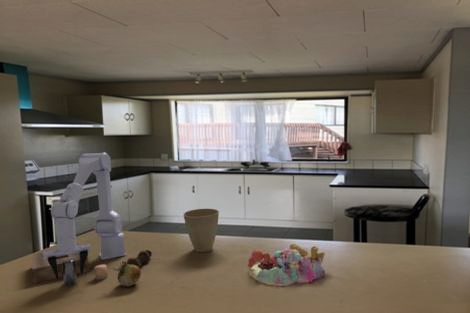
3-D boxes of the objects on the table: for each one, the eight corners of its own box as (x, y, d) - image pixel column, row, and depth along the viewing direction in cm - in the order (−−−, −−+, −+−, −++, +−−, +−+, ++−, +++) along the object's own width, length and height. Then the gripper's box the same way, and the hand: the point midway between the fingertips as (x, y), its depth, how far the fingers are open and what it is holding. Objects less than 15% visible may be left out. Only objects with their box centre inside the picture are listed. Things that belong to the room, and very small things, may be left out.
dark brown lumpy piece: (150, 262, 145) (134, 276, 130) (140, 256, 146) (122, 269, 131) (156, 250, 144) (141, 263, 130) (146, 244, 145) (129, 256, 130)
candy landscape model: (282, 255, 142) (281, 232, 142) (336, 270, 125) (335, 244, 125) (238, 275, 125) (237, 249, 124) (293, 295, 108) (292, 265, 107)
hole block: (83, 257, 149) (82, 245, 149) (89, 271, 133) (88, 258, 133) (33, 266, 140) (32, 254, 140) (33, 283, 125) (32, 269, 124)
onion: (128, 291, 115) (127, 267, 114) (112, 287, 119) (110, 263, 118) (146, 282, 121) (144, 259, 120) (130, 278, 125) (128, 256, 125)
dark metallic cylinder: (76, 280, 126) (74, 257, 125) (77, 284, 122) (75, 261, 122) (63, 282, 124) (61, 260, 123) (64, 287, 120) (62, 263, 120)
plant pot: (201, 241, 163) (199, 207, 162) (227, 246, 154) (225, 210, 153) (178, 251, 151) (175, 214, 150) (204, 257, 142) (202, 218, 141)
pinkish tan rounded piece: (106, 274, 130) (105, 263, 129) (108, 278, 126) (107, 267, 126) (94, 277, 128) (93, 266, 127) (96, 280, 124) (95, 269, 124)
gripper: (42, 243, 115) (46, 284, 116) (91, 235, 122) (93, 274, 123) (42, 238, 121) (45, 277, 122) (88, 230, 128) (91, 267, 129)
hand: (69, 275), depth 123 cm, fingers open, 7 cm apart
